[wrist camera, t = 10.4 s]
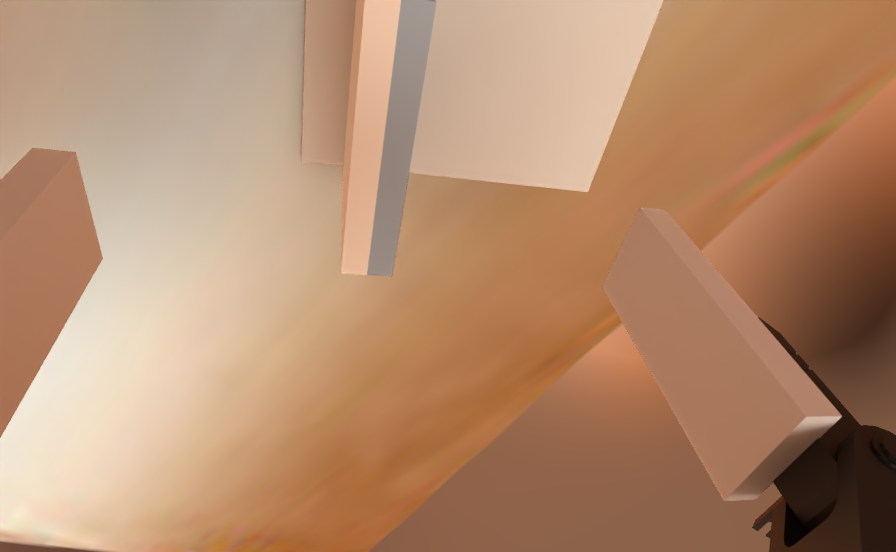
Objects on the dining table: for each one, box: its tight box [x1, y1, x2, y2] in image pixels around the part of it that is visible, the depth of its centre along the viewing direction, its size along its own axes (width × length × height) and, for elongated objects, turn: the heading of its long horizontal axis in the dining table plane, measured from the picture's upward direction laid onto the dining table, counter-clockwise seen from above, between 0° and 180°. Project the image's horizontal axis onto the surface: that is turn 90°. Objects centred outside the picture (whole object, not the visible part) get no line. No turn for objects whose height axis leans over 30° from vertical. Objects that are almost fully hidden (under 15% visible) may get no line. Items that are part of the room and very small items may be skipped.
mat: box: [301, 0, 663, 192], centre depth 26 cm, size 11×16×1 cm
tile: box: [341, 0, 437, 277], centre depth 21 cm, size 10×2×9 cm, turn 169°
